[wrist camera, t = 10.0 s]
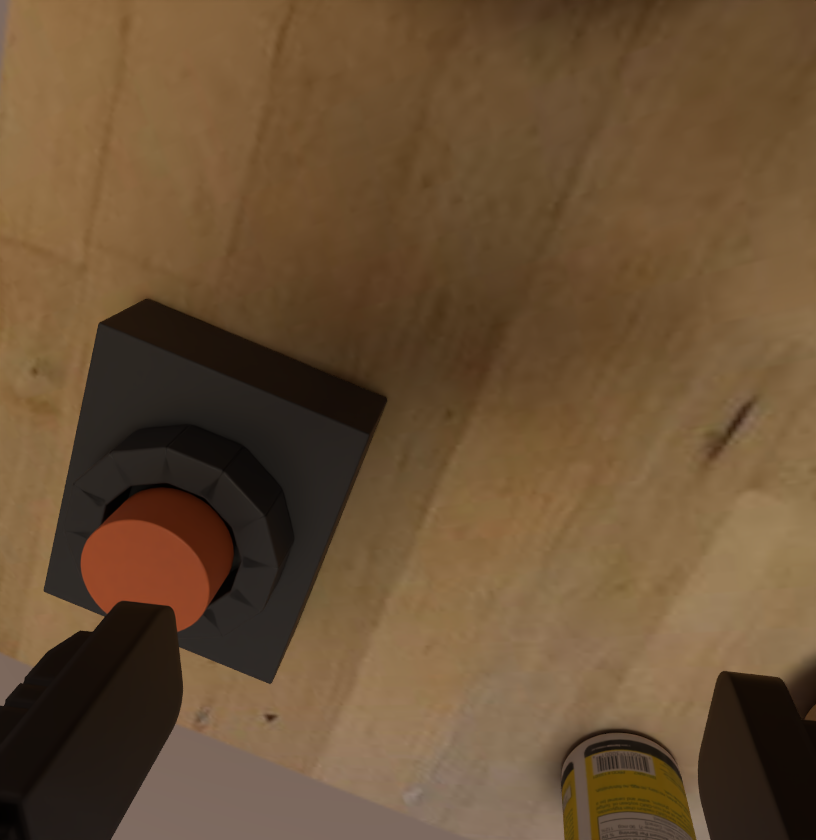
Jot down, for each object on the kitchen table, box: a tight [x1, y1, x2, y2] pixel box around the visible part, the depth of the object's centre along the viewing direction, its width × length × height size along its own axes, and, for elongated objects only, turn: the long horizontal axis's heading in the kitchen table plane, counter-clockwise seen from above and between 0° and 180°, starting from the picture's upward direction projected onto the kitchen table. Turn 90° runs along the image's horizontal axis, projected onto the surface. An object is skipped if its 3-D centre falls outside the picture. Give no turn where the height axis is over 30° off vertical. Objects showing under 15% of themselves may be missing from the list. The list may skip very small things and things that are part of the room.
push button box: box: [44, 299, 387, 684], centre depth 26 cm, size 11×9×5 cm
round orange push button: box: [81, 487, 234, 632], centre depth 23 cm, size 4×4×2 cm
